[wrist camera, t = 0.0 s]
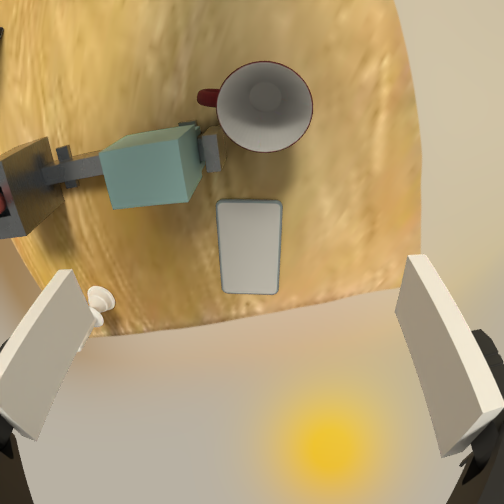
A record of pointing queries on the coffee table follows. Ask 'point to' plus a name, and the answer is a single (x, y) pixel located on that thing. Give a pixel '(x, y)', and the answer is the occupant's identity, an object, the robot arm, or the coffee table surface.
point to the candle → (98, 307)
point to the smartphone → (249, 245)
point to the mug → (262, 106)
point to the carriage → (153, 167)
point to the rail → (90, 165)
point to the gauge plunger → (2, 203)
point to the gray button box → (26, 188)
